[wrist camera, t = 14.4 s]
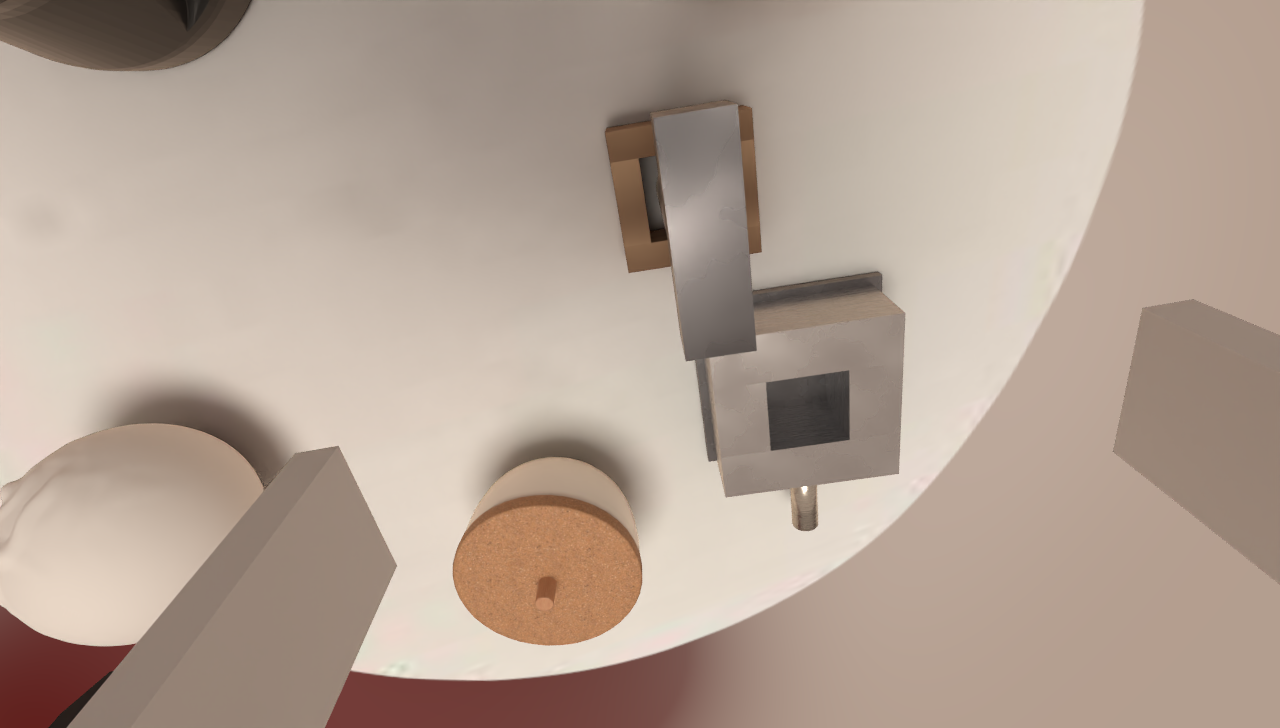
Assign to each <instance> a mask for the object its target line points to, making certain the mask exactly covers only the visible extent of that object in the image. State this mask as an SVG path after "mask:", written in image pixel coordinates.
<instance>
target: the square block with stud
mask: <svg viewBox="0 0 1280 728" xmlns="http://www.w3.org/2000/svg"><path fill="white" fill-rule="evenodd" d="M752 294H753V307H754V320H755V333H756V346H757V351H752V352H745V353H739V354H732V355H725V356H719V357H712V358H705V359H698V360H695V361H696V369H697V377H698V385H699V393H700V400H701V408H702V416H703V424H704V432H705V440H706V447H707V455H708V460H709V461H716V460H717V462H718V467H719V471H720V475H721V480H722V484H723V488H724V492H725V497H732V496H739V495H746V494H754V493H761V492H768V491H776V490H783V489H790V491H791V508H792V524H793V526H794V527H795V528H796V529H798V530H801V531H811V530H813V529H815V528H816V527H817V526H818V503H817V485H819V484H827V483H834V482H841V481H849V480H856V479H863V478H871V477H878V476H885V475H893V474H899V456H900V431H901V406H902V381H903V357H904V332H905V312H904V311H903V310H901V309H900V308H899V307H898V306H897V305H896V304H895V303H893V302H892V301H891V300H890V299H889V298H888V297H887V296H885V295H884V294H883V293H882V274H880V273H879V272H874V273H868V274H861V275H855V276H848V277H842V278H835V279H829V280H822V281H816V282H809V283H802V284H796V285H789V286H783V287H776V288H770V289H763V290H757V291H752Z"/></svg>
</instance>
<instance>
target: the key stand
mask: <svg viewBox="0 0 1280 728" xmlns="http://www.w3.org/2000/svg"><path fill="white" fill-rule="evenodd" d="M738 113H739V126H740V139H741V152H742V165H743V178H744V191H745V203H746V216H747V229H748V242H749V254H753V253H760V252H762V250H761V235H760V221H759V206H758V191H757V177H756V162H755V147H754V133H753V118H752V108H750V107H747V106H744V105H740V106H738ZM605 136H606V142H607V148H608V154H609V160H610V166H611V171H612V177H613V183H614V189H615V195H616V201H617V207H618V213H619V219H620V224H621V230H622V236H623V242H624V248H625V254H626V260H627V266H628V272H629V273H632V272H638V271H645V270H651V269H657V268H664V267H670V266H671V262H670V255H669V248H668V240H667V233H666V229H660V230H653V231H649V224H648V218H647V211H646V204H645V198H644V191H643V184H642V178H641V171H640V164H639V158H644V157H650V156H656V153H655V146H654V138H653V131H652V124H651V121H645V122H639V123H633V124H627V125H621V126H615V127H609V128H606V131H605Z"/></svg>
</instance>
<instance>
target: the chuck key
mask: <svg viewBox="0 0 1280 728" xmlns="http://www.w3.org/2000/svg"><path fill="white" fill-rule="evenodd" d="M650 116H651V124H652V131H653V138H654V146H655V153H656V160H657V168H658V175H659V176H658V178H657V182H656V192H657V197H658V201H659V205H660V209H661V213H662V217H663V221H664V225H665V229H666V233H667V240H668V248H669V255H670V262H671V270H672V277H673V284H674V292H675V299H676V306H677V313H678V321H679V328H680V335H681V340H682V344H683V349H684V354H685V359H686V361H692V360H698V359H705V358H712V357H719V356H725V355H732V354H739V353H745V352H752V351H757V346H756V333H755V320H754V307H753V294H752V281H751V268H750V255H749V242H748V229H747V216H746V203H745V191H744V178H743V165H742V152H741V139H740V126H739V113H738V104H737V103H734V102H730V101H727V100H721V101H715V102H709V103H703V104H697V105H692V106H686V107H680V108H674V109H668V110H662V111H656V112H650Z"/></svg>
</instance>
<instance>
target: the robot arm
mask: <svg viewBox="0 0 1280 728" xmlns="http://www.w3.org/2000/svg"><path fill="white" fill-rule="evenodd" d="M249 3H250V0H0V41H3V42H5V43H8V44H10V45H13V46H15V47H18V48H21V49H23V50H26V51H28V52H31V53H33V54H36V55H38V56H41V57H44V58H47V59H50V60H53V61H56V62H60V63H64V64H67V65H72V66H77V67H82V68H88V69H95V70H108V71H148V70H160V69H167V68H171V67H176V66H179V65H182V64H185V63H188V62H190V61H193V60H195V59H197V58H199V57H201V56H202V55H204V54H206V53H208V52H209V51H210V50H212V49H213V48H215V47H216V46H217V45H218V44H219V43H221V42H222V41H223V40H224V39H225V38H226V37H227V36H228V35H229V34H230V33H231V31H232V30H233V29H234V28H235V26H236V25H237V24H238V22H239V21H240V19H241V17H242V16H243V14H244V13H245V11H246V9H247V7H248V5H249ZM1113 452H1114V453H1115V454H1116V455H1118V456H1119V457H1120V458H1121V459H1123V460H1124V461H1125V462H1126V463H1128V464H1129V465H1130V466H1131V467H1133V468H1134V469H1135V470H1136V471H1138V472H1139V473H1140V474H1141V475H1143V476H1144V477H1145V478H1146V479H1148V480H1149V481H1150V482H1151V483H1153V484H1154V485H1155V486H1157V487H1158V488H1159V489H1160V490H1161V491H1163V492H1164V493H1165V494H1167V495H1168V496H1169V497H1170V498H1172V499H1173V500H1174V501H1175V502H1177V503H1178V504H1179V505H1180V506H1182V507H1183V508H1184V509H1185V510H1187V511H1188V512H1189V513H1190V514H1192V515H1193V516H1194V517H1195V518H1197V519H1198V520H1199V521H1200V522H1202V523H1203V524H1204V525H1205V526H1207V527H1208V528H1209V529H1211V530H1212V531H1213V532H1215V533H1216V534H1217V535H1218V536H1219V537H1221V538H1222V539H1223V540H1225V541H1226V542H1227V543H1228V544H1230V545H1231V546H1232V547H1233V548H1234V549H1236V550H1237V551H1238V552H1239V553H1241V554H1242V555H1243V556H1244V557H1246V558H1247V559H1248V560H1250V561H1251V562H1252V563H1253V564H1255V565H1256V566H1257V567H1258V568H1260V569H1261V570H1262V571H1263V572H1265V573H1266V574H1267V575H1269V576H1270V577H1271V578H1272V579H1273V580H1275V581H1276V582H1277V583H1279V584H1280V335H1278V334H1275V333H1273V332H1271V331H1268V330H1266V329H1263V328H1261V327H1259V326H1256V325H1254V324H1251V323H1249V322H1247V321H1244V320H1242V319H1239V318H1237V317H1235V316H1232V315H1230V314H1227V313H1225V312H1223V311H1220V310H1218V309H1215V308H1213V307H1210V306H1208V305H1206V304H1203V303H1201V302H1198V301H1196V300H1194V299H1192V300H1186V301H1181V302H1174V303H1169V304H1163V305H1157V306H1151V307H1145V308H1142V313H1141V317H1140V322H1139V328H1138V332H1137V337H1136V342H1135V347H1134V352H1133V356H1132V361H1131V366H1130V371H1129V376H1128V381H1127V386H1126V391H1125V396H1124V400H1123V405H1122V410H1121V415H1120V420H1119V425H1118V429H1117V434H1116V440H1115V444H1114V449H1113ZM396 567H397V565H396V563H395V561H394V559H393V557H392V555H391V553H390V551H389V549H388V546H387V544H386V542H385V540H384V538H383V536H382V534H381V532H380V530H379V528H378V526H377V524H376V522H375V520H374V518H373V516H372V514H371V512H370V510H369V507H368V505H367V503H366V501H365V499H364V497H363V495H362V493H361V491H360V489H359V487H358V485H357V483H356V481H355V479H354V477H353V475H352V473H351V471H350V469H349V466H348V464H347V462H346V460H345V458H344V456H343V454H342V452H341V450H340V448H339V446H335V447H329V448H324V449H318V450H312V451H306V452H300V453H295V454H294V455H293V457H292V458H291V459H290V460H289V461H288V463H287V464H286V465H285V466H284V467H283V469H282V470H281V471H280V472H279V473H278V475H277V476H276V477H275V478H274V479H273V481H272V482H271V483H270V484H269V485H268V487H267V488H266V489H265V490H264V491H263V493H262V494H261V495H260V496H259V497H258V499H257V500H256V501H255V502H254V503H253V505H252V506H251V507H250V508H249V509H248V511H247V512H246V513H245V514H244V515H243V517H242V518H241V519H240V520H239V521H238V523H237V524H236V525H235V526H234V527H233V529H232V530H231V531H230V532H229V533H228V535H227V536H226V537H225V538H224V539H223V541H222V542H221V543H220V544H219V545H218V547H217V548H216V549H215V550H214V551H213V553H212V554H211V555H210V556H209V557H208V559H207V560H206V561H205V562H204V563H203V565H202V566H201V567H200V568H199V569H198V571H197V572H196V573H195V574H194V575H193V577H192V578H191V579H190V580H189V581H188V583H187V584H186V585H185V586H184V587H183V589H182V590H181V591H180V592H179V593H178V595H177V596H176V597H175V598H174V599H173V601H172V602H171V603H170V604H169V605H168V607H167V608H166V609H165V610H164V611H163V613H162V614H161V615H160V616H159V617H158V619H157V620H156V621H155V622H154V623H153V625H152V626H151V627H150V628H149V629H148V631H147V632H146V633H145V634H144V635H143V637H142V638H141V639H140V640H139V641H138V643H137V644H136V645H135V646H134V647H133V649H132V650H131V651H130V652H129V653H128V655H127V656H126V657H125V658H124V659H123V661H122V662H121V663H120V664H119V665H118V667H117V668H116V669H115V670H114V671H112V672H109V673H108V674H107V675H106V676H104V677H103V678H102V679H101V680H100V681H99V682H97V683H96V684H95V685H94V686H93V687H91V688H90V689H89V690H88V691H87V692H86V693H85V694H83V695H82V696H81V697H80V698H79V699H78V700H76V701H75V702H74V703H73V704H72V705H70V706H69V707H68V708H67V709H66V710H64V711H63V712H62V713H61V714H60V715H59V716H58V717H57V719H56V720H55V721H54V722H53V723H52V724H51V725H50V727H49V728H325V726H326V724H327V721H328V719H329V717H330V715H331V712H332V710H333V708H334V706H335V703H336V701H337V699H338V697H339V694H340V692H341V690H342V688H343V685H344V683H345V681H346V679H347V677H348V674H349V672H350V670H351V668H352V665H353V663H354V661H355V659H356V656H357V654H358V652H359V650H360V647H361V645H362V643H363V641H364V638H365V636H366V634H367V632H368V629H369V627H370V625H371V623H372V620H373V618H374V616H375V614H376V611H377V609H378V607H379V605H380V603H381V600H382V598H383V596H384V594H385V591H386V589H387V587H388V585H389V582H390V580H391V578H392V576H393V573H394V571H395V569H396Z"/></svg>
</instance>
